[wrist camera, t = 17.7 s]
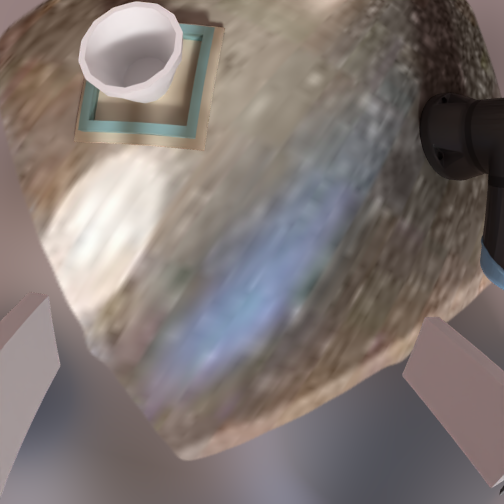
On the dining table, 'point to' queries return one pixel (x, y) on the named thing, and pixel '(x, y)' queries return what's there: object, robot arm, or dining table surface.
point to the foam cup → (132, 51)
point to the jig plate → (159, 102)
